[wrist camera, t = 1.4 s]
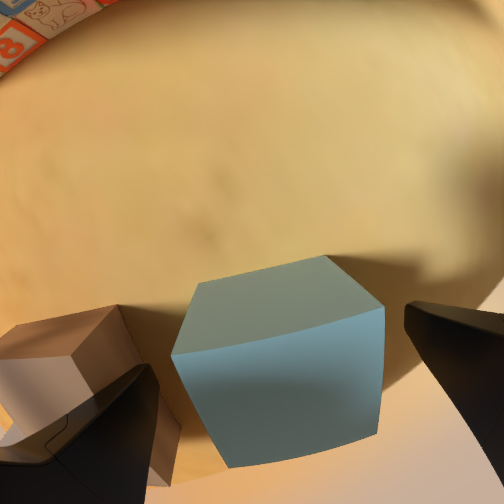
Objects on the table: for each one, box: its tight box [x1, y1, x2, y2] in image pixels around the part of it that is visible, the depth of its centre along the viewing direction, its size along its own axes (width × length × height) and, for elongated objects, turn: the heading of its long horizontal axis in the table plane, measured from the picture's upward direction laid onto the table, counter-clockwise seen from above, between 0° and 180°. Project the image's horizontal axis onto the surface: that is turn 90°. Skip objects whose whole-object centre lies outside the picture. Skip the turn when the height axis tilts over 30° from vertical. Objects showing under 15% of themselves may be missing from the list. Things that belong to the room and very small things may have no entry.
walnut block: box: [0, 304, 181, 487], centre depth 9 cm, size 7×7×4 cm
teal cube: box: [171, 255, 385, 468], centre depth 8 cm, size 4×4×4 cm
